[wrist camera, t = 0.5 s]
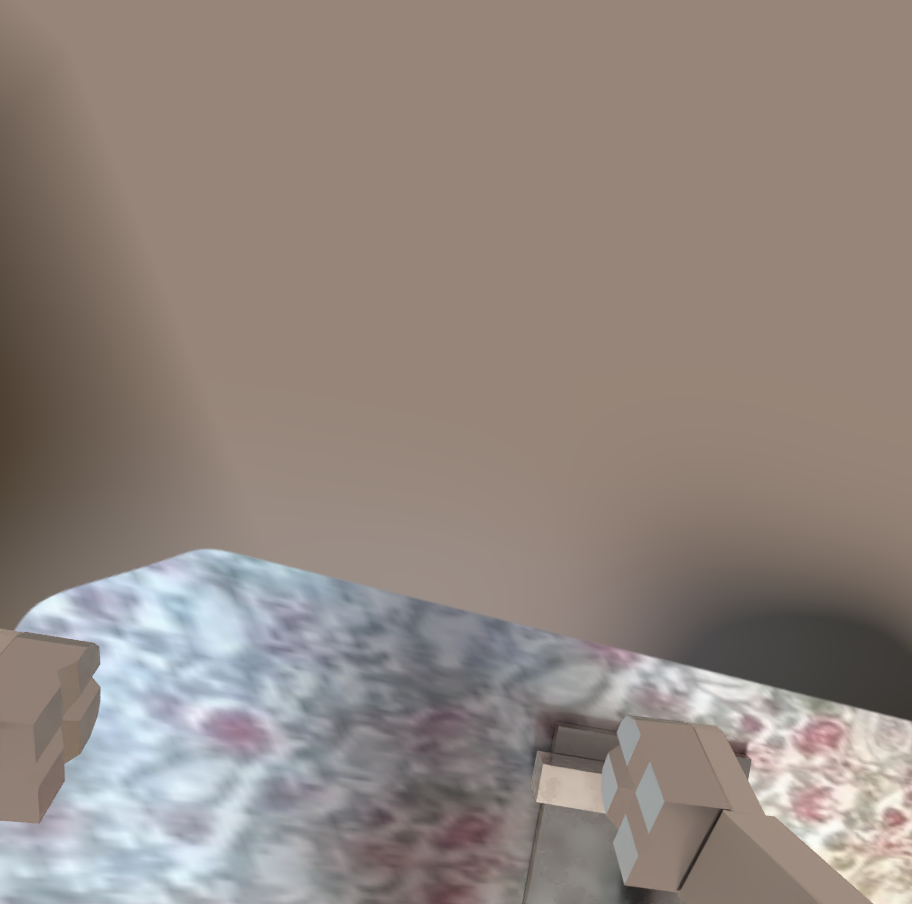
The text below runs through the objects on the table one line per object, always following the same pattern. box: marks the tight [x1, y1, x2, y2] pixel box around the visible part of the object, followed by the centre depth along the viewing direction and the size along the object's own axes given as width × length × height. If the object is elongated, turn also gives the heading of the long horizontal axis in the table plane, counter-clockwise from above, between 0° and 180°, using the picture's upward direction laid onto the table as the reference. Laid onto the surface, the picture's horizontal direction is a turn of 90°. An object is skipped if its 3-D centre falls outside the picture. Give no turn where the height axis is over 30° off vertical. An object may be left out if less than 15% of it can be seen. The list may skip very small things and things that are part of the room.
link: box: [531, 751, 605, 813], centre depth 58 cm, size 14×4×3 cm, turn 79°
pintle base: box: [523, 721, 751, 904], centre depth 58 cm, size 18×19×6 cm
